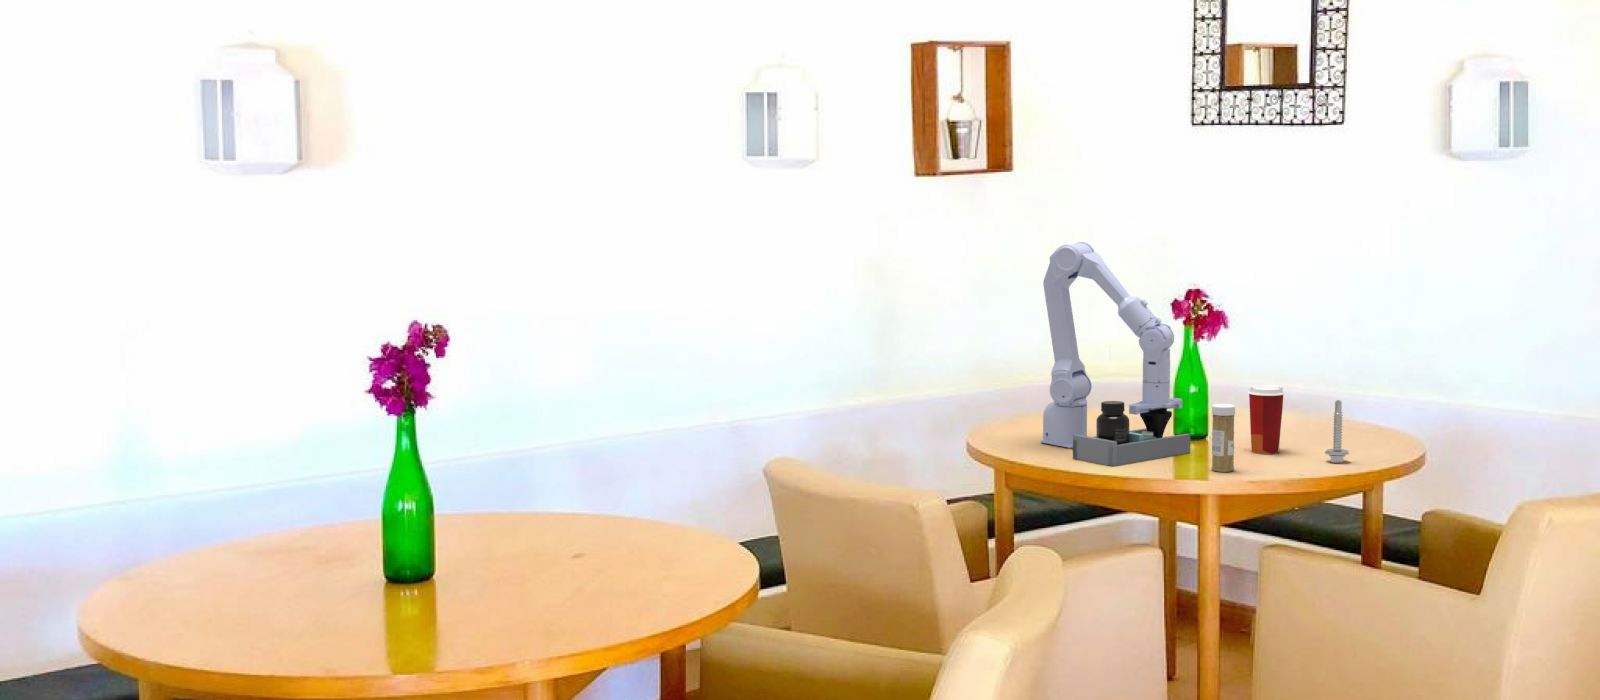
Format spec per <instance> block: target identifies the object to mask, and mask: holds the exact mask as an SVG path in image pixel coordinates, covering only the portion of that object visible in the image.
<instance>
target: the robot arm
mask: <svg viewBox="0 0 1600 700" xmlns="http://www.w3.org/2000/svg"><path fill="white" fill-rule="evenodd" d="M1078 277H1081V278H1085V279H1089V280H1093V281H1094V282H1095V284H1097V286H1099V287H1100V288H1101V290H1102V291H1103V292H1105V294H1106V295H1107V296H1108V297H1109V298H1110V299H1111V300H1112V301H1113V303H1115V304H1116V306H1117V313H1118V316H1119V317H1120V318H1121V320H1122V321H1123V322H1124V323H1125V325H1126V326H1127V327H1128V328H1129V329H1130V330H1131V332H1132V333H1133V334H1134V335H1135V336H1136V337H1137V338H1138V345H1139V347H1140V350H1142V351H1143V352H1142V357H1143V358H1142V392H1141V393H1142V395H1141V396H1142V398H1141V401H1138V402H1135V403H1133V404H1129V405H1128V414H1130V415H1139V417H1140V418H1141V420H1142V421H1143V424H1144V425H1145V428H1146V429H1147V431H1151V432H1153V436H1154V437H1156V438H1162V437H1163V436H1164V433H1165V430H1166V427H1167V425H1168V423H1169V421H1170V419H1171V417H1173V412H1172V411H1171V410H1170V409H1172V410H1173V409H1182V408H1183V398H1177V397H1173V398H1171V397H1170V394H1171V391H1170V390H1171V385H1170V384H1171V349H1170V348H1171V347H1172V346H1173V344H1174V342H1175V341H1174V340H1175V334H1174V331H1173V330H1172V328H1171V327H1170V326H1171V325H1168V324H1166V323H1162V319H1161V318H1160V317H1156V315H1155V314H1154V313H1153V312H1152V311H1151V309H1149V307H1148V306H1147V305H1148V302H1147V300H1145V299H1142V298H1140V297H1138V296H1131V295H1130V293H1129V292H1128V291H1127V290H1126V289H1125V287H1124V286H1123V284H1121V282H1120V280H1119V279H1118V278H1117V276H1116V275H1114V273H1113V272H1112V270H1111V269H1110V268H1109V267H1108V265H1107V264H1106V262H1105V261H1104V259H1103V258H1102V255H1100V253H1098V252H1097V251H1095V250H1094V248H1093V246H1092V245H1091V244H1089V243H1088V242H1084V241H1079V242H1076V243H1071V244H1062V245H1060V246H1059V247H1057V248H1056V249H1055V250H1054V252H1052V254H1050V256H1049V264H1048V267H1047V270H1046V272H1045V276H1044V279H1043V282H1042V283H1043V284H1042V285H1043V291H1044V292H1043V293H1044V298H1045V303H1046V310H1047V311H1046V312H1047V319H1048V323H1049V326H1048V327H1049V331H1050V337H1051V346H1052V351H1053V359H1054V364H1053V366H1052V369H1051V372H1050V375H1051V381H1050V385H1049V394H1050V397H1051V398H1052V402H1050V403H1048V404H1047V405H1046V407H1044V410H1043V416H1042V439H1040V441H1039V442H1040V443H1042V444H1046V445H1047V444H1048V445H1053V446H1056V447H1063V448H1069V449H1073V435H1083V436H1087V435H1088V401H1087V398H1088V397H1089V395H1090V393H1091V390H1092V388H1093V387H1092V382H1091V378H1090V377H1089V376H1088V374H1087V372H1086V366H1085V365H1084V363H1083V361H1082V359H1080V355H1079V348H1078V343H1077V341H1078V340H1077V335H1076V329H1075V320H1074V315H1073V308H1072V301H1071V295H1070V287H1071V285H1072V284H1073V283H1074V282H1075V281H1076V280H1077V278H1078Z"/></svg>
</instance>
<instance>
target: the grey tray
mask: <svg viewBox="0 0 1600 700" xmlns="http://www.w3.org/2000/svg"><path fill="white" fill-rule="evenodd" d="M1143 431H1147V429H1146V427H1144V428H1139V429H1138V428H1137V429H1133V430H1129V432H1133V433H1139V434H1142V432H1143ZM1190 453H1191V434H1190V433H1183V434H1182V433H1181V434H1175V435H1169V436H1164V437H1162V438H1156V439H1150V440H1144V441H1138V442H1132V443H1126V444H1120V445H1117V442H1116V441H1111V440H1105V439H1100V438H1097V435H1096V436H1095V435H1094V436H1090V435H1089V436H1083V435H1073V448H1072V459H1073V460H1074V459H1075V460H1079V461H1083V462H1088V463H1094V464H1100V465H1104V466H1105V465H1106V466H1109V467H1117V466H1122V465H1127V464H1134V463H1138V462H1144V461H1146V462H1147V461H1150V460H1151V461H1152V460H1157V459H1162V458H1169V457H1173V456H1180V455H1186V454H1190Z"/></svg>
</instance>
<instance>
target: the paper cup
mask: <svg viewBox="0 0 1600 700" xmlns="http://www.w3.org/2000/svg"><path fill="white" fill-rule="evenodd" d="M1246 394H1248V396H1249V397H1248V398H1249V399H1248V400H1249V402H1248V403H1249V419H1250V420H1249V422H1250V423H1249V425H1250V426H1249V427H1250V444H1251V445H1250V447H1251V448H1250V450H1251V452H1252V453H1254V454H1259V455H1275V453H1276V454H1278V453H1279V452H1280V451H1279V449H1280V440H1281V439H1280V438H1281V431H1282V430H1281V427H1282V417H1283V408H1284V407H1283V406H1284V395H1285V394H1286V392H1285V391H1284V387H1283V386H1281V385H1276V384H1275V385H1274V384H1254V385H1250V387H1249V388H1248V391H1247V392H1246Z"/></svg>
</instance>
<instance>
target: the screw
mask: <svg viewBox="0 0 1600 700" xmlns="http://www.w3.org/2000/svg"><path fill="white" fill-rule="evenodd" d="M1342 403H1343V402H1342V400H1339V399H1337V400H1336V401H1334V412H1333V433H1332V435H1333V436H1332V437H1333V438H1332V440H1333V444H1332V448H1328V449H1326V450H1325V451H1324V454H1326V455H1328V456H1329V457H1330V463H1333V464H1334V463H1335V464H1341V463H1342V464H1343V463H1344V458H1345V457H1346V456H1348V455H1350V451H1349V450H1347V449H1344V448H1342V444H1343V440H1342V439H1343V437H1342V436H1343V434H1342V433H1343V429H1342V428H1343V414H1342V413H1343V411H1342V408H1343V407H1342V406H1343V405H1342Z"/></svg>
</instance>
